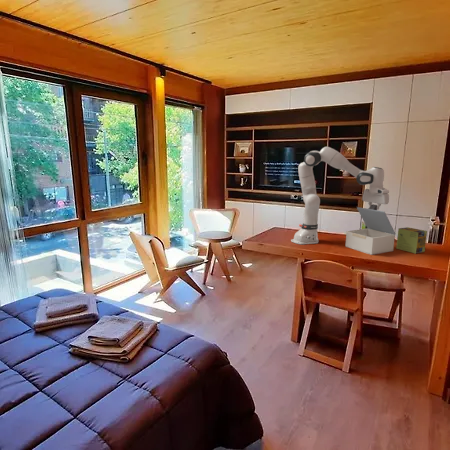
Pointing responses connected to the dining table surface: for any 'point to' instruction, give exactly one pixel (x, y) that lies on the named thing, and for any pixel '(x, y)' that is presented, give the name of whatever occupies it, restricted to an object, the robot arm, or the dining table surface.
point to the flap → (376, 219)
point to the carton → (370, 241)
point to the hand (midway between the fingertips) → (374, 208)
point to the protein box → (411, 240)
